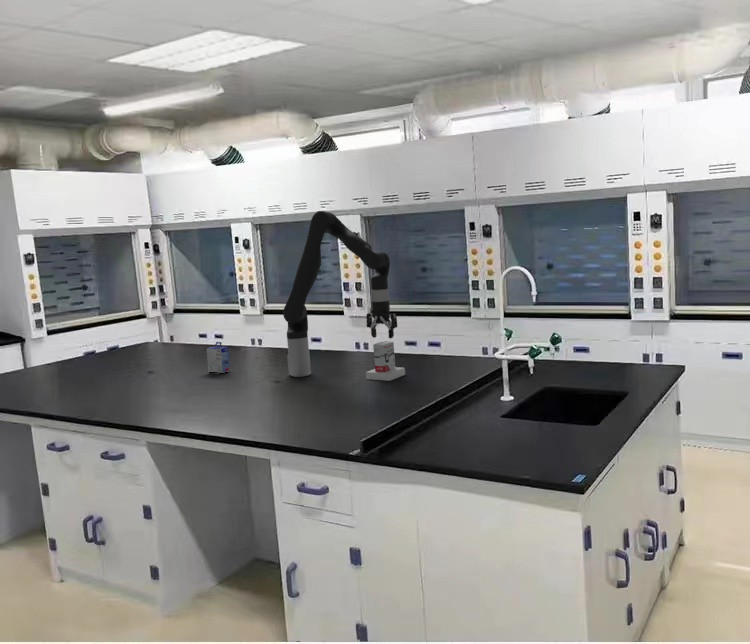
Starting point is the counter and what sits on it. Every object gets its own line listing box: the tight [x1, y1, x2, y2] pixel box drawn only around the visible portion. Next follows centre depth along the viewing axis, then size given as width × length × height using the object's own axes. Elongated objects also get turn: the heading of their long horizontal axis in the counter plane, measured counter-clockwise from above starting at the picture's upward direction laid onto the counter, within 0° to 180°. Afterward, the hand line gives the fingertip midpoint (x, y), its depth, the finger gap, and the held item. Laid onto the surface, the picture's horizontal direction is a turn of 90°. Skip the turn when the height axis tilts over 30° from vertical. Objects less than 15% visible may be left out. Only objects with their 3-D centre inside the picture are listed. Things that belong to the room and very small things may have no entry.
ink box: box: [372, 340, 396, 372], centre depth 312 cm, size 9×5×12 cm, turn 142°
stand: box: [365, 366, 406, 382], centre depth 313 cm, size 12×12×3 cm
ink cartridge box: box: [206, 341, 231, 372], centre depth 350 cm, size 10×6×14 cm, turn 58°
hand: (382, 337), depth 311 cm, fingers open, 8 cm apart
